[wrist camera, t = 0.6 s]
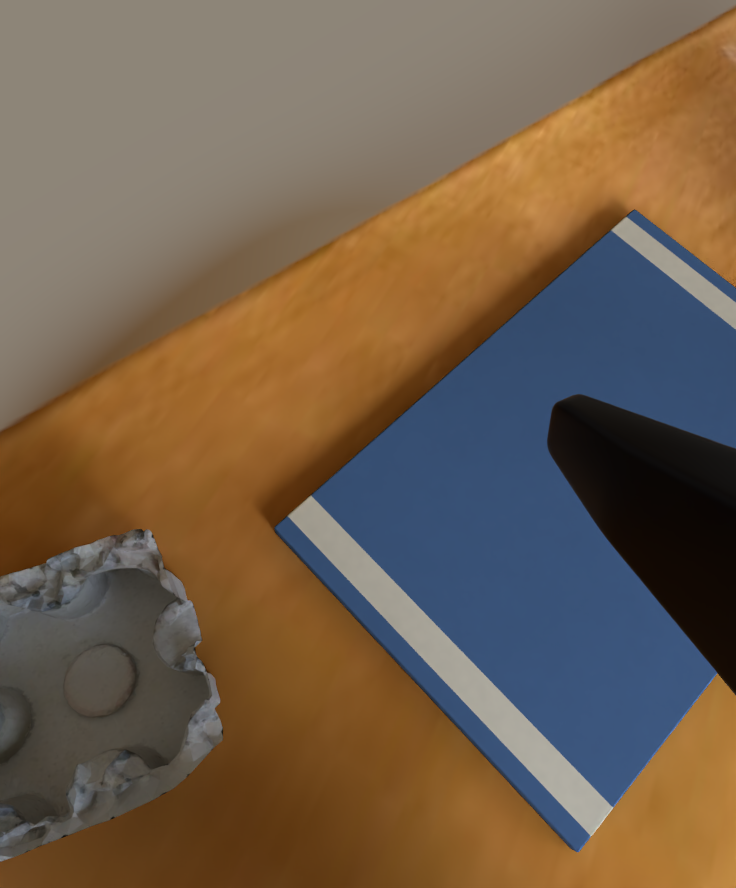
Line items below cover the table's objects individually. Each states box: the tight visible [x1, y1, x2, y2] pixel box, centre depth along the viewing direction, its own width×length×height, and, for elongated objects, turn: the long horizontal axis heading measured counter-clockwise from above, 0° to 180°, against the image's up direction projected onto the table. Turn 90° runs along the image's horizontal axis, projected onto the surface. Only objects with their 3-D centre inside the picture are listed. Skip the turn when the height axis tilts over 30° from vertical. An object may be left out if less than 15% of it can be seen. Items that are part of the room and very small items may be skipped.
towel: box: [274, 209, 736, 852], centre depth 26 cm, size 14×21×1 cm, turn 134°
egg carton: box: [0, 529, 223, 862], centre depth 20 cm, size 11×8×4 cm
